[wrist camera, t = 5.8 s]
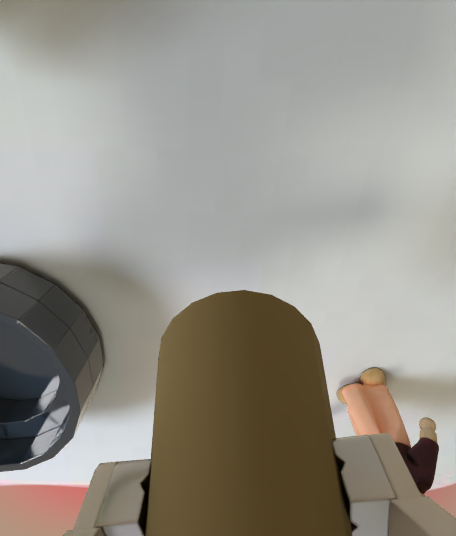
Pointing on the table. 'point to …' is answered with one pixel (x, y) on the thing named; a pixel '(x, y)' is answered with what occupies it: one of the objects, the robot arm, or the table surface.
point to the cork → (243, 425)
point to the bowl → (42, 368)
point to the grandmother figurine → (391, 425)
